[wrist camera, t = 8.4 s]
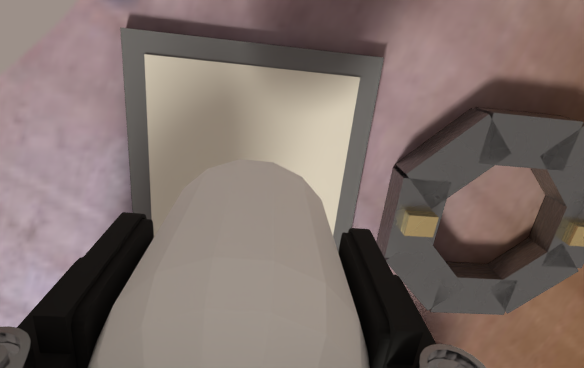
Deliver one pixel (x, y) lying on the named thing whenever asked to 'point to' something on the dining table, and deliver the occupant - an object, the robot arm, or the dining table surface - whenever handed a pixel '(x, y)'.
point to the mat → (244, 116)
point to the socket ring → (462, 170)
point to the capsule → (237, 282)
